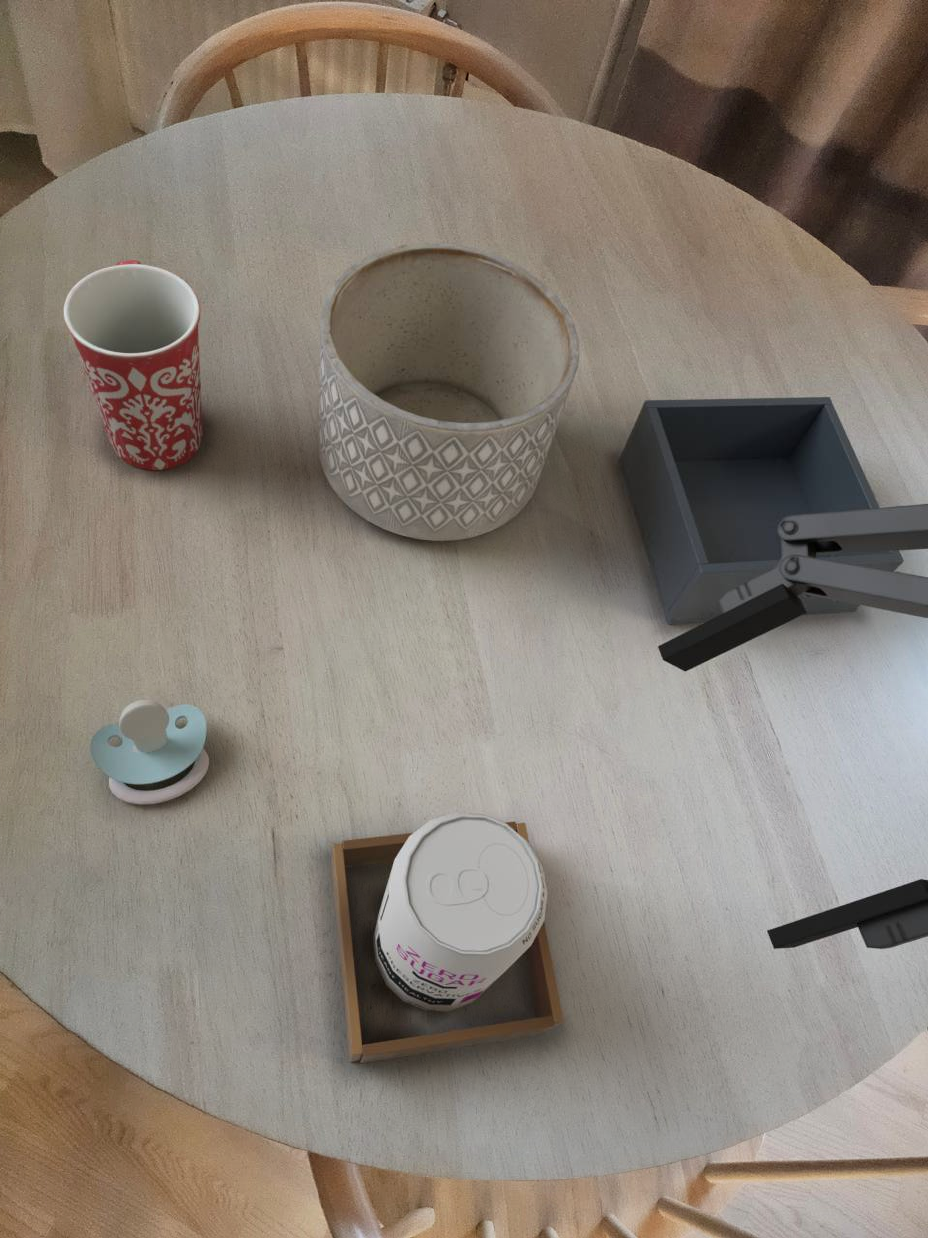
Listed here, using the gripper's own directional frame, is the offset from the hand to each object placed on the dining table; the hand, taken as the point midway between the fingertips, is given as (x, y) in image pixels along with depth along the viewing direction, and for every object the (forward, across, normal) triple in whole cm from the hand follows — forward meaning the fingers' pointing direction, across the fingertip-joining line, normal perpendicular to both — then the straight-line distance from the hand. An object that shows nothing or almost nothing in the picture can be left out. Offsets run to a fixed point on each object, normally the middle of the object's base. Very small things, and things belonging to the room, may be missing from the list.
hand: (721, 789), depth 43 cm
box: (+24, 0, -8) cm, 25 cm away
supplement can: (+24, 0, -8) cm, 25 cm away
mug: (+33, +45, +1) cm, 56 cm away
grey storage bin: (+1, +27, -32) cm, 42 cm away
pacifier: (+35, +15, +3) cm, 38 cm away
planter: (+18, +38, -14) cm, 45 cm away
